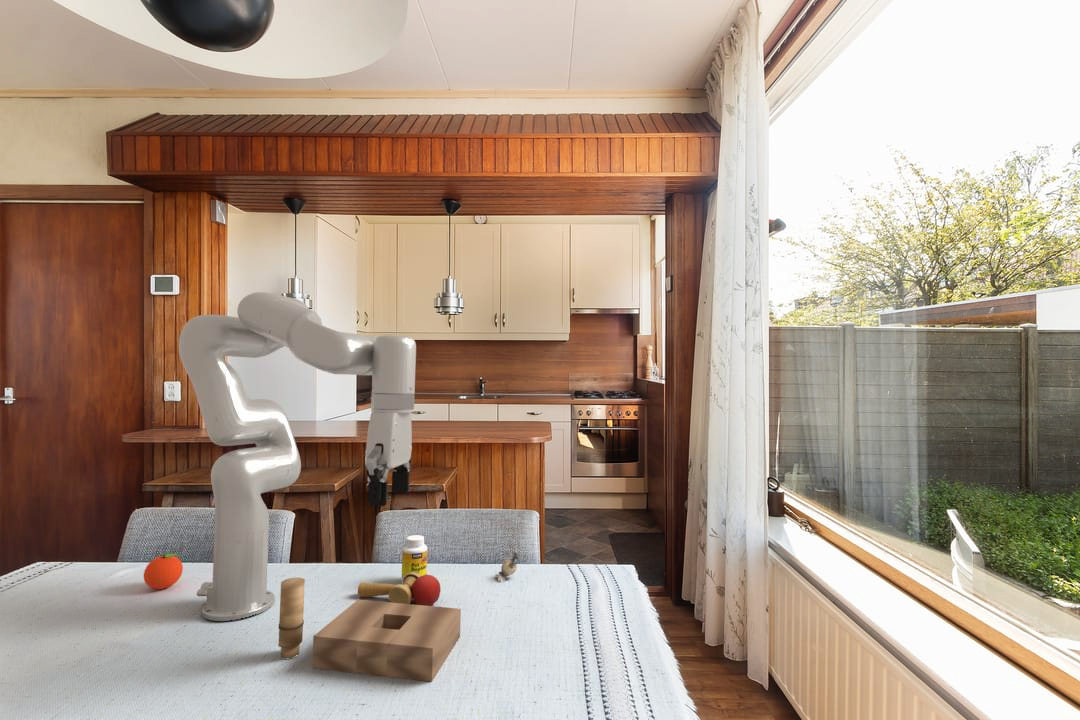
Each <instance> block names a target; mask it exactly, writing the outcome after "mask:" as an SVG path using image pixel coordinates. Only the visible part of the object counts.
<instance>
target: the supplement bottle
mask: <svg viewBox="0 0 1080 720" xmlns="http://www.w3.org/2000/svg"><path fill="white" fill-rule="evenodd" d="M401 551H402V555H401V556H402V557H401V578H400V579H401V584H402V585H403V581H404V578H405V576H406V575H407V574H409V573H411V572H415V573H418V574H419V575H420V576H423V575H427V569H428V565H427V564H428V546H427V545H426V544H425V537H424V536H423V535H419V534H413V535H408V536H407V537H406V539H405V545H404V546H403V547H402V550H401Z"/></svg>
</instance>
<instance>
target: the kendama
mask: <svg viewBox="0 0 1080 720" xmlns="http://www.w3.org/2000/svg"><path fill="white" fill-rule="evenodd" d="M357 595H358V597H359V598H360V597H363V598H371V597H379V596H380V597H382V596H388V600H389V602H390V603H401V604H411V603H412V601H413V602H414V603H415V605H424V606H432V605H434V604H435V603H436V602H438V601H439V598H440V595H441V584H440V581H439V579H437V577H435V576H434V575H431V574H426V575H423V576H420V575H419V574H418V573H415V572H411V573H409V574H407V575H406V576H405V578H404V581H403V584H402V583H401V584H399V583H397V584H392V583H379V582H377V583H375V582H365V581H364V582H360V583H359V585H358V588H357Z"/></svg>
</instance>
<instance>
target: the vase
mask: <svg viewBox="0 0 1080 720" xmlns="http://www.w3.org/2000/svg"><path fill="white" fill-rule="evenodd" d="M521 560H523V557H522V556H521V555H520V554H519V553H517V552H515V551H514V553H513V556H512V557H511V558H507V559H505V560H504V561H503V563H502V564H501V566H500V567H501V570H500V571H498V578H497V580H498V581H499V583H501V582H500V581H502V582H503V581H504V580H506V579H507V576H512V575H513V574H515V572H516V570H517V567H518V566H517V563H518V561H521ZM504 582H505V581H504Z"/></svg>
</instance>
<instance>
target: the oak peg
mask: <svg viewBox="0 0 1080 720" xmlns="http://www.w3.org/2000/svg"><path fill="white" fill-rule="evenodd" d="M305 580H306V579H305V578H303V577H290V578H287V579H284V580H282V581H281V582H280V594H279V595H280V600H279V621H278V647H280V658H281V657H282V658H291V659H293V658H292V657H294V656H296V655H298V654H299V655H300V647H301V646H300V645H301V643H303V636H304V634H303V632H304V625H305V621H304V607H305V606H304V605H305ZM296 657H297V656H296ZM282 658H281V659H282ZM294 658H295V657H294Z"/></svg>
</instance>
